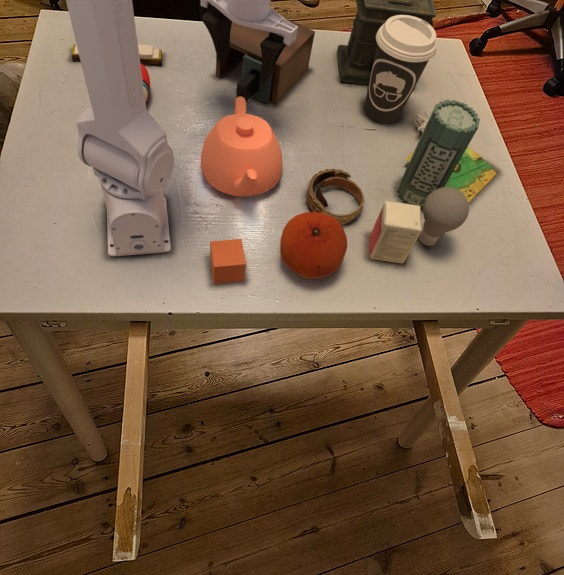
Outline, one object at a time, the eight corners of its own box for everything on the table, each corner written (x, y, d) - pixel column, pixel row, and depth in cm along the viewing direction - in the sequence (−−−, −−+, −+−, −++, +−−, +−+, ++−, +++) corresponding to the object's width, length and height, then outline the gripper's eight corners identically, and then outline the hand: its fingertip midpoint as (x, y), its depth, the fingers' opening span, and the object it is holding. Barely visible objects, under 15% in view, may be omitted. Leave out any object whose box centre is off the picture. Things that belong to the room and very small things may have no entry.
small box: (402, 240, 75) (421, 205, 68) (403, 264, 73) (423, 230, 66) (368, 235, 75) (384, 199, 68) (368, 259, 72) (384, 224, 66)
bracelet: (320, 172, 80) (323, 158, 77) (370, 196, 79) (376, 183, 76) (295, 208, 75) (298, 195, 73) (348, 234, 74) (353, 221, 72)
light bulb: (420, 217, 78) (446, 170, 69) (453, 240, 76) (484, 194, 68) (399, 240, 75) (424, 193, 67) (434, 264, 74) (463, 219, 65)
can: (439, 186, 82) (482, 109, 69) (432, 213, 78) (476, 137, 66) (402, 173, 82) (438, 94, 69) (394, 199, 79) (430, 122, 66)
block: (243, 281, 68) (246, 264, 65) (213, 284, 67) (214, 266, 64) (239, 256, 70) (241, 238, 67) (210, 258, 69) (210, 241, 66)
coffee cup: (418, 125, 89) (453, 45, 77) (370, 134, 86) (398, 53, 74) (392, 89, 94) (422, 8, 81) (346, 97, 91) (369, 14, 78)
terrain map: (462, 208, 80) (464, 206, 80) (404, 159, 82) (405, 158, 82) (498, 172, 86) (499, 170, 85) (442, 127, 88) (443, 125, 87)
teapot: (274, 134, 83) (281, 84, 75) (288, 222, 74) (299, 175, 66) (198, 134, 81) (197, 82, 73) (203, 223, 72) (203, 176, 64)
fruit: (273, 280, 70) (279, 258, 62) (282, 222, 73) (289, 194, 65) (337, 291, 70) (351, 270, 63) (343, 232, 73) (357, 206, 65)
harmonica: (72, 61, 86) (70, 50, 85) (74, 50, 88) (72, 39, 86) (161, 66, 89) (160, 56, 87) (162, 55, 90) (161, 44, 89)
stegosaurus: (413, 116, 84) (432, 137, 84) (429, 107, 89) (447, 127, 89) (403, 127, 86) (421, 147, 86) (419, 118, 91) (437, 137, 91)
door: (252, 119, 84) (255, 85, 79) (225, 106, 85) (226, 71, 79) (269, 101, 87) (273, 67, 81) (242, 89, 88) (245, 54, 82)
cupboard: (275, 105, 87) (281, 65, 81) (215, 76, 89) (216, 36, 83) (307, 70, 93) (315, 31, 87) (251, 44, 95) (254, 4, 89)
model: (340, 84, 92) (362, 1, 80) (334, 53, 97) (354, -30, 84) (413, 90, 94) (445, 10, 82) (404, 59, 99) (433, -21, 86)
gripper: (314, -16, 68) (298, 74, 79) (220, -56, 70) (218, 37, 82) (288, 7, 64) (275, 98, 76) (191, -36, 66) (192, 58, 78)
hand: (244, 68), depth 78 cm, fingers open, 7 cm apart
